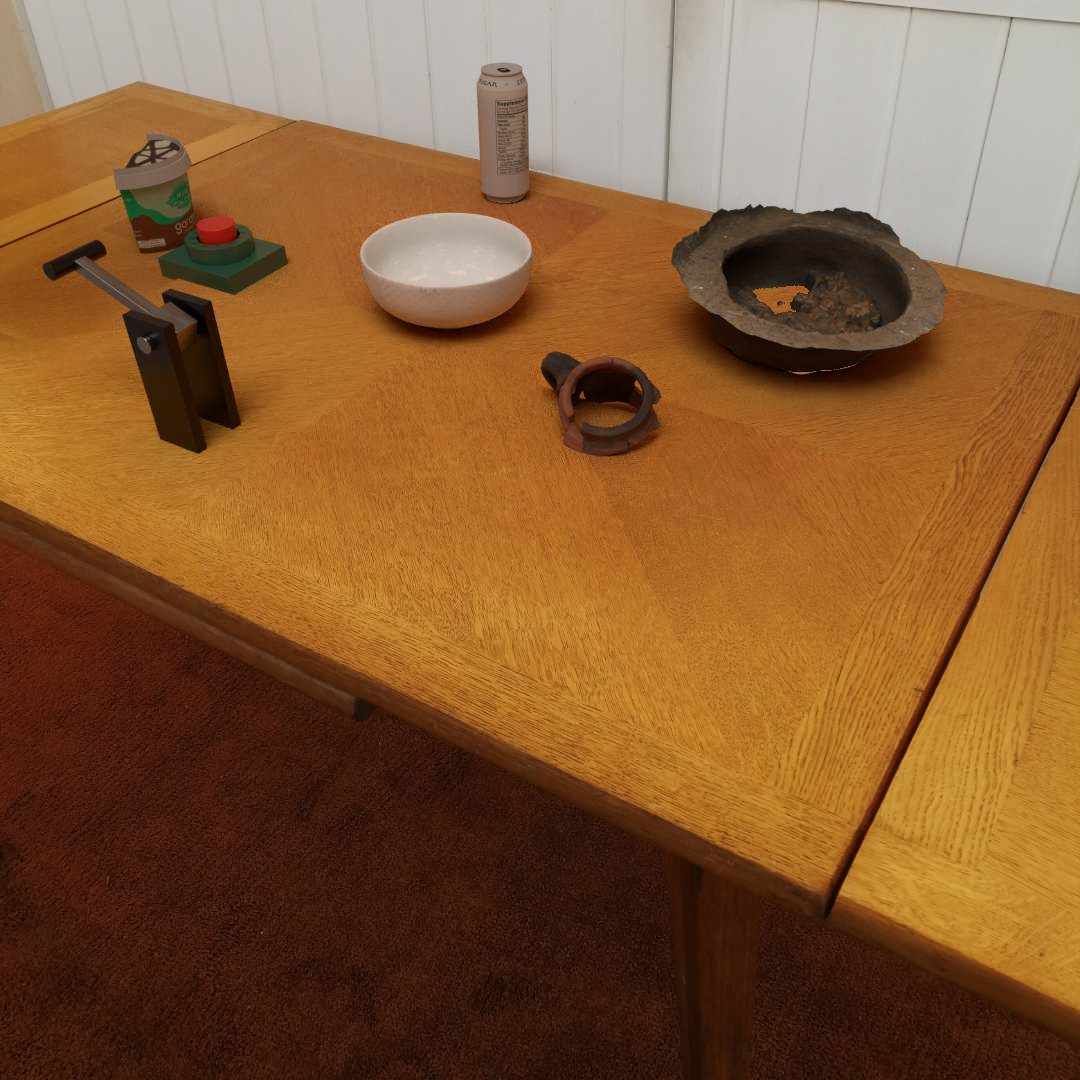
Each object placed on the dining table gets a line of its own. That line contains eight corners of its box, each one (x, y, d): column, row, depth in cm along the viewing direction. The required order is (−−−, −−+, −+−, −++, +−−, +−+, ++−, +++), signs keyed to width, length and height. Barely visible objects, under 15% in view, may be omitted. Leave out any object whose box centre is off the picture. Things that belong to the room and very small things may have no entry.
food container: (191, 259, 112) (168, 170, 106) (136, 260, 112) (110, 170, 106) (219, 215, 121) (200, 131, 115) (169, 215, 122) (147, 131, 115)
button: (191, 242, 107) (187, 226, 106) (218, 228, 110) (214, 213, 109) (219, 249, 106) (216, 233, 104) (245, 236, 108) (242, 220, 107)
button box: (162, 276, 109) (153, 241, 106) (220, 246, 115) (213, 212, 112) (231, 297, 105) (223, 261, 103) (288, 264, 111) (281, 229, 108)
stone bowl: (723, 259, 111) (739, 176, 104) (949, 328, 102) (981, 243, 96) (624, 355, 94) (637, 263, 88) (884, 447, 86) (918, 353, 80)
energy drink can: (513, 183, 129) (510, 58, 119) (538, 198, 125) (537, 70, 115) (473, 193, 126) (466, 66, 117) (496, 208, 123) (491, 79, 113)
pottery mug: (681, 424, 87) (686, 379, 79) (617, 506, 85) (616, 468, 77) (572, 354, 90) (566, 304, 83) (507, 432, 88) (495, 388, 81)
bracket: (122, 451, 84) (75, 312, 76) (191, 405, 89) (154, 271, 81) (219, 490, 80) (181, 348, 71) (286, 439, 85) (257, 302, 77)
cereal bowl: (335, 330, 99) (324, 264, 95) (420, 264, 111) (414, 201, 106) (486, 367, 94) (482, 298, 89) (559, 293, 105) (560, 228, 101)
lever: (43, 279, 78) (41, 254, 76) (93, 255, 81) (93, 230, 79) (162, 364, 76) (163, 340, 75) (208, 336, 80) (210, 313, 78)
